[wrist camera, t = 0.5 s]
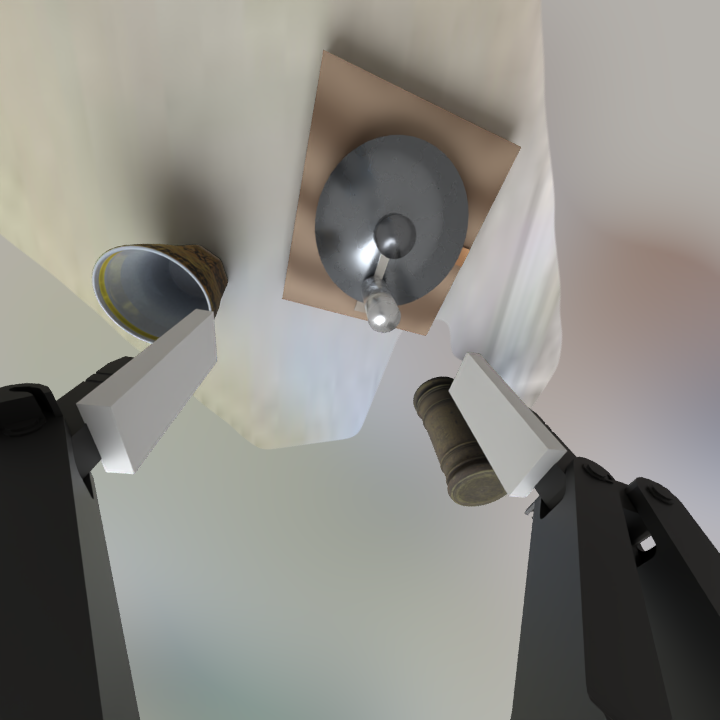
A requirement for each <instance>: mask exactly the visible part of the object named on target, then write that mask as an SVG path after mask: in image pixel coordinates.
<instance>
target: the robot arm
mask: <svg viewBox="0 0 720 720" xmlns="http://www.w3.org/2000/svg"><path fill="white" fill-rule="evenodd" d="M216 362H217V350H216V337H215V324H214V312H212V311H206V310H200V309H195V310H194V311H193V312H191V313H190V314H189V315H188V316H186V317H185V318H184V319H183V320H181V321H180V322H179V323H178V324H176V325H175V326H174V327H172V328H171V329H170V330H169V331H167V332H166V333H165V334H164V335H162V336H161V337H160V338H158V339H157V340H156V341H155V342H153V343H152V344H151V345H150V346H148V347H147V348H146V349H145V350H143V351H142V352H141V353H139V354H138V355H137V356H136V357H127V356H125V357H122V358H120V359H118V360H115V361H113V362H110V363H108V364H107V365H105V366H104V367H102V368H101V369H100V370H98V371H97V372H96V374H93V375H91V376H90V377H89V378H87V379H86V381H85V382H84V381H83V382H82V383H80V384H79V385H78V386H76V387H75V388H74V389H72V390H71V391H69V392H68V393H67V394H65V395H64V396H62V397H61V398H60V399H58V400H57V401H56V400H55V398H54V396H53V394H52V392H51V390H50V389H49V387H47V386H44V385H41V384H33V383H24V384H15V385H9V386H4V387H1V388H0V720H140V717H139V712H138V707H137V701H136V697H135V691H134V686H133V681H132V676H131V670H130V665H129V660H128V655H127V650H126V645H125V639H124V634H123V629H122V624H121V619H120V613H119V608H118V603H117V598H116V592H115V588H114V582H113V577H112V572H111V567H110V561H109V556H108V551H107V546H106V541H105V536H104V531H103V525H102V520H101V515H100V510H99V504H98V499H97V494H96V489H95V484H94V478H93V476H92V474H91V472H90V471H91V470H92V469H93V468H94V467H95V465H96V464H97V463H98V462H99V461H100V460H101V462H102V464H103V466H104V468H105V470H106V472H110V473H127V474H135V472H136V471H137V470H138V468H139V467H140V466H141V464H142V463H143V461H144V460H145V459H146V457H147V456H148V455H149V453H150V452H151V451H152V449H153V448H154V446H155V445H156V444H157V442H158V441H159V440H160V438H161V437H162V435H163V434H164V433H165V432H166V430H167V429H168V427H169V426H170V425H171V423H172V422H173V421H174V419H175V418H176V417H177V415H178V414H179V412H180V411H181V410H182V408H183V407H184V406H185V404H186V403H187V402H188V400H189V399H190V397H191V396H192V395H193V393H194V392H195V391H196V389H197V388H198V387H199V385H200V384H201V383H202V381H203V380H204V378H205V377H206V376H207V374H208V373H209V372H210V370H211V369H212V368H213V366H214V365H215V363H216ZM449 392H450V394H451V396H452V398H453V399H454V401H455V403H456V405H457V406H458V408H459V410H460V412H461V413H462V415H463V417H464V419H465V420H466V422H467V424H468V426H469V427H470V429H471V431H472V433H473V435H474V436H475V438H476V440H477V442H478V443H479V445H480V447H481V449H482V450H483V452H484V454H485V456H486V457H487V459H488V461H489V463H490V464H491V466H492V468H493V470H494V471H495V473H496V475H497V477H498V478H499V480H500V482H501V484H502V485H503V487H504V489H505V491H506V492H507V494H508V496H512V497H527V495H528V494H529V493H530V492H531V491H532V490H533V489H534V488H535V489H536V491H537V492H538V494H539V495H540V496H539V497H538V498H537V499H536V500H535V501H534V502H533V503H532V504H531V505H530V506H529V507H528V509H527V510H526V512H525V514H526V515H528V514H529V513H530V512H532V511H534V514H533V517H532V519H533V523H532V533H531V542H530V551H529V561H528V570H527V579H526V588H525V597H524V607H523V617H522V625H521V634H520V643H519V652H518V653H519V654H518V662H517V672H516V680H515V690H514V699H513V708H512V714H511V719H510V720H720V553H719V552H718V551H717V549H716V548H715V547H714V545H713V544H712V543H711V541H710V540H709V539H708V537H707V536H706V535H705V533H704V532H703V531H702V529H701V528H700V527H699V525H698V524H697V523H696V521H695V520H694V519H693V517H692V516H691V515H690V513H689V512H688V511H687V509H686V508H685V507H684V505H683V504H682V503H681V502H680V501H679V499H678V498H677V497H676V496H674V495H673V494H672V493H671V492H670V491H669V490H668V489H667V488H665V487H663V486H662V485H660V484H659V483H656V482H654V481H652V480H649V479H646V478H643V477H639V478H636V479H635V480H634V481H633V482H631V483H630V484H629V485H627V484H624V483H621V482H618V481H615V479H614V478H613V477H612V476H611V475H610V473H609V472H608V471H606V470H605V469H604V468H603V467H601V466H600V465H598V464H597V463H595V462H593V461H591V460H589V459H586V458H583V457H576V456H575V455H574V454H573V453H572V452H571V451H570V449H568V447H567V446H566V445H565V444H564V443H563V442H562V441H561V440H560V439H559V437H558V436H557V435H556V434H555V433H554V432H552V431H551V429H550V428H549V426H548V425H546V424H545V422H544V421H543V420H542V419H541V418H540V417H539V416H538V415H537V414H536V413H535V412H534V411H532V410H531V409H530V408H528V407H527V406H526V405H525V403H524V402H523V401H522V400H521V399H520V398H519V397H518V396H517V395H516V394H515V392H514V391H513V390H512V389H511V388H510V387H509V386H508V385H507V384H506V382H505V381H504V380H503V379H502V378H501V377H500V376H499V375H498V374H497V372H496V371H495V370H494V369H493V368H492V367H491V366H490V365H489V364H488V362H487V361H486V360H485V359H484V358H483V357H482V356H481V355H480V354H477V353H471V352H467V353H466V356H465V358H464V360H463V362H462V364H461V366H460V368H459V370H458V372H457V374H456V377H455V379H454V381H453V383H452V385H451V387H450V389H449ZM650 536H652V538H653V540H654V541H655V543H656V546H654V547H653V548H651V549H650V550H648V551H644V550H643V548H642V546H641V544H640V543H641V542H642V541H644V540H645V539H647V538H648V537H650Z"/></svg>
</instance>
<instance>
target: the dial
mask: <svg viewBox="0 0 720 720" xmlns="http://www.w3.org/2000/svg"><path fill="white" fill-rule="evenodd" d="M468 217H469V213H468V201H467V195H466V191H465V187H464V184H463V181H462V179H461V177H460V175H459V173H458V171H457V169H456V168H455V166H454V165H453V163H452V162H451V161H450V159H449V158H448V157H447V156H446V155H445V154H444V153H443V152H442V151H441V150H439V149H438V148H437V147H436V146H434V145H432V144H430V143H429V142H427V141H425V140H422V139H419V138H416V137H413V136H406V135H389V136H383V137H378V138H376V139H373V140H370V141H368V142H366V143H364V144H362V145H360V146H358V147H357V148H355V149H354V150H353V151H351V152H350V153H349V154H348V155H346V156H345V157H344V158H343V160H342V161H341V162H340V163H339V164H338V165H337V166H336V168H335V169H334V170H333V172H332V173H331V174H330V176H329V178H328V180H327V181H326V183H325V185H324V188H323V190H322V193H321V195H320V198H319V202H318V206H317V210H316V217H315V237H316V245H317V249H318V253H319V256H320V259H321V262H322V264H323V266H324V268H325V270H326V272H327V274H328V275H329V276H330V278H331V279H332V281H333V282H334V283H335V284H336V285H337V286H338V287H339V288H340V289H341V290H342V291H343V292H344V293H346V294H347V295H349V296H350V297H352V298H353V299H355V300H357V301H359V302H362V303H364V306H365V310H366V314H367V318H368V322H369V325H370V326H371V328H372V329H373V330H375V331H377V332H381V333H386V332H389V331H392V330H393V329H395V328H396V327H397V326H398V324H399V322H400V320H401V313H400V310H399V308H398V306H399V305H404V304H407V303H410V302H413V301H415V300H417V299H419V298H421V297H423V296H424V295H426V294H428V293H429V292H430V291H432V290H433V289H434V288H435V287H437V286H438V285H439V284H440V283H441V282H442V281H443V280H444V278H445V277H446V276H447V275H448V274H449V272H450V271H451V269H452V268H453V266H454V265H455V263H456V261H457V259H458V257H459V255H460V253H461V250H462V248H463V245H464V242H465V238H466V234H467V228H468Z"/></svg>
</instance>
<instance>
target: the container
mask: <svg viewBox="0 0 720 720" xmlns="http://www.w3.org/2000/svg"><path fill="white" fill-rule="evenodd" d="M453 381H454V379H453V378H450V377H436V378H432V379H430V380H428V381H426V382H425V383H423V384H422V385H421V386H420V387H419V388H418V389H417V391H416V392H415V395H414V400H413V403H414V407H415V409H416V411H417V414H418V416H419V417H420V418H421V419H422V421H423V425H424V427H425V429H426V430H427V432H428V434H429V436H430V439H431V441H432V444H433V447H434V449H435V452H436V455H437V457H438V460H439V462H440V467H441V470H442V471H443V473H444V474H445V476H446V483H447V485H448V494H449V496H450V497H451V499H452V500H453V501H454V502H455V503H457V504H459V505H463V506H481V505H485V504H489V503H491V502H494V501H496V500H498V499H500V498H502V497H503V496H505V495H506V494H507V492H506V491H505V489H504V487H503V485H502V484H501V482H500V480H499V478H498V477H497V475H496V473H495V471H494V470H493V468H492V466H491V464H490V463H489V461H488V459H487V457H486V456H485V454H484V452H483V450H482V449H481V447H480V445H479V443H478V442H477V440H476V438H475V436H474V435H473V433H472V431H471V429H470V427H469V426H468V424H467V422H466V420H465V419H464V417H463V415H462V413H461V412H460V410H459V408H458V406H457V405H456V403H455V401H454V399H453V398H452V396H451V394H450V392H449V389H450V387H451V385H452V383H453Z"/></svg>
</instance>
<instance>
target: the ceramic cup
mask: <svg viewBox="0 0 720 720" xmlns="http://www.w3.org/2000/svg"><path fill="white" fill-rule="evenodd" d="M227 283H228V279H227V276H226V273H225V270H224V267H223V264H222V262H221V260H220V259H219V258H218V257H216V256H215V255H213V254H212V253H210V252H209V251H208V250H206V249H205V248H203V247H202V246H200V245H181V246H173V245H164V244H134V245H123V246H118V247H115V248H112V249H110V250H108V251H106V252H105V253H104V254H102V255H101V256H100V257H99V259H98V260H97V261H96V263H95V265H94V268H93V272H92V285H93V290H94V293H95V296H96V298H97V300H98V302H99V304H100V305H101V307H102V309H103V310H104V311H105V313H106V314H107V315H108V316H109V317H110V318H111V319H112V320H113V321H114V322H115V323H116V324H117V325H118V326H119V327H121V328H122V329H123V330H125V331H126V332H128V333H129V334H131V335H132V336H134V337H136V338H138V339H140V340H142V341H145V342H148V343H150V344H152V343H153V342H155V341H156V340H157V339H158V338H160V337H161V336H162V335H164V334H165V333H166V332H167V331H169V330H170V329H171V328H172V327H174V326H175V325H176V324H178V323H179V322H180V321H181V320H183V319H184V318H185V317H186V316H188V315H189V314H190V313H191V312H193V311H194V310H195V309H200V310H206V311H212V312H214V319H215V317H216V314H217V311H218V309H219V306H220V301H221V298H222V296H223V293H224V291H225V288H226V286H227Z"/></svg>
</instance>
